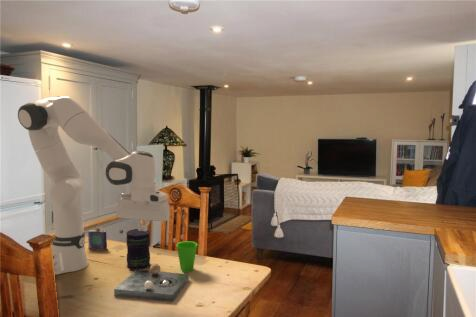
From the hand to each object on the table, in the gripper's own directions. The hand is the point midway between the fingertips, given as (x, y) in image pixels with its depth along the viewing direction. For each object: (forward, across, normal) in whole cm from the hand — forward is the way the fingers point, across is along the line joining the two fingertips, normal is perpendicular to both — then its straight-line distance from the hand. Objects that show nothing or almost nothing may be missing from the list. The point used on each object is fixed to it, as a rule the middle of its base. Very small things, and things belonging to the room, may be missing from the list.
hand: (142, 230), depth 138 cm
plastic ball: (+17, +6, -8) cm, 20 cm away
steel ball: (+20, +10, -1) cm, 22 cm away
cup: (+21, +12, +18) cm, 30 cm away
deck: (+21, +5, -1) cm, 22 cm away
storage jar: (+22, -10, +18) cm, 30 cm away
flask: (+22, -39, +34) cm, 56 cm away
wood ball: (+17, +3, +5) cm, 18 cm away
